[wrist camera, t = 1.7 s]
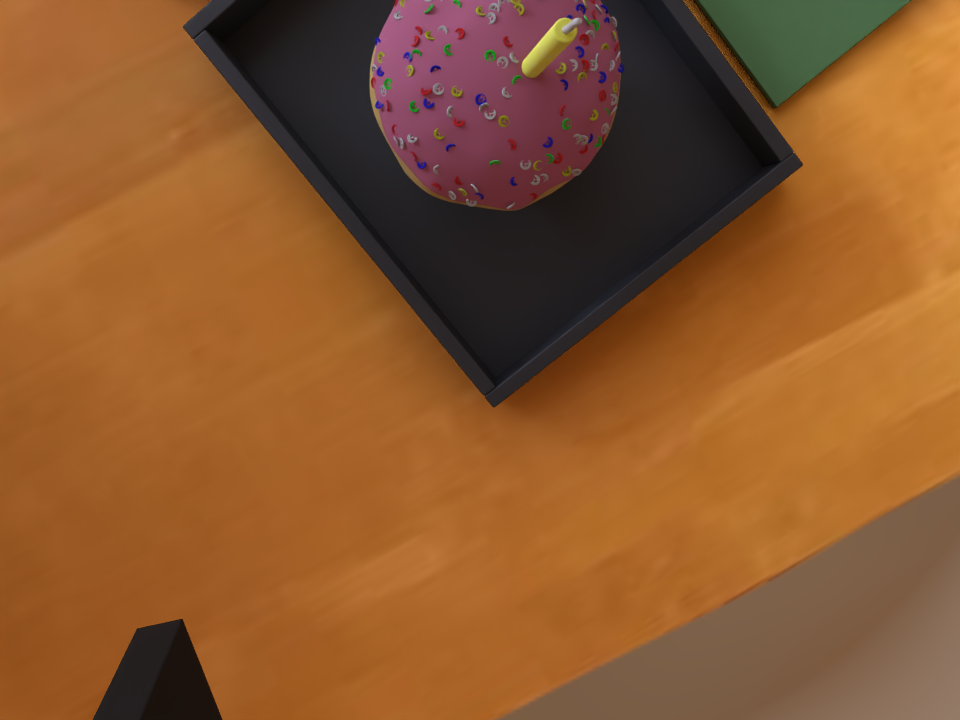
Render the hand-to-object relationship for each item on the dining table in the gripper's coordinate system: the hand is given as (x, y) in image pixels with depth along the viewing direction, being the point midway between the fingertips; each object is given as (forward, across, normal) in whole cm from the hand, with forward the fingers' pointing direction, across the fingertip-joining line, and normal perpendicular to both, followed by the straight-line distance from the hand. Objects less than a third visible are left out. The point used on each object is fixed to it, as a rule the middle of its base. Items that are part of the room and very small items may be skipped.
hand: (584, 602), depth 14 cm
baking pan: (+23, +2, +6) cm, 24 cm away
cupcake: (+23, +2, +6) cm, 24 cm away
